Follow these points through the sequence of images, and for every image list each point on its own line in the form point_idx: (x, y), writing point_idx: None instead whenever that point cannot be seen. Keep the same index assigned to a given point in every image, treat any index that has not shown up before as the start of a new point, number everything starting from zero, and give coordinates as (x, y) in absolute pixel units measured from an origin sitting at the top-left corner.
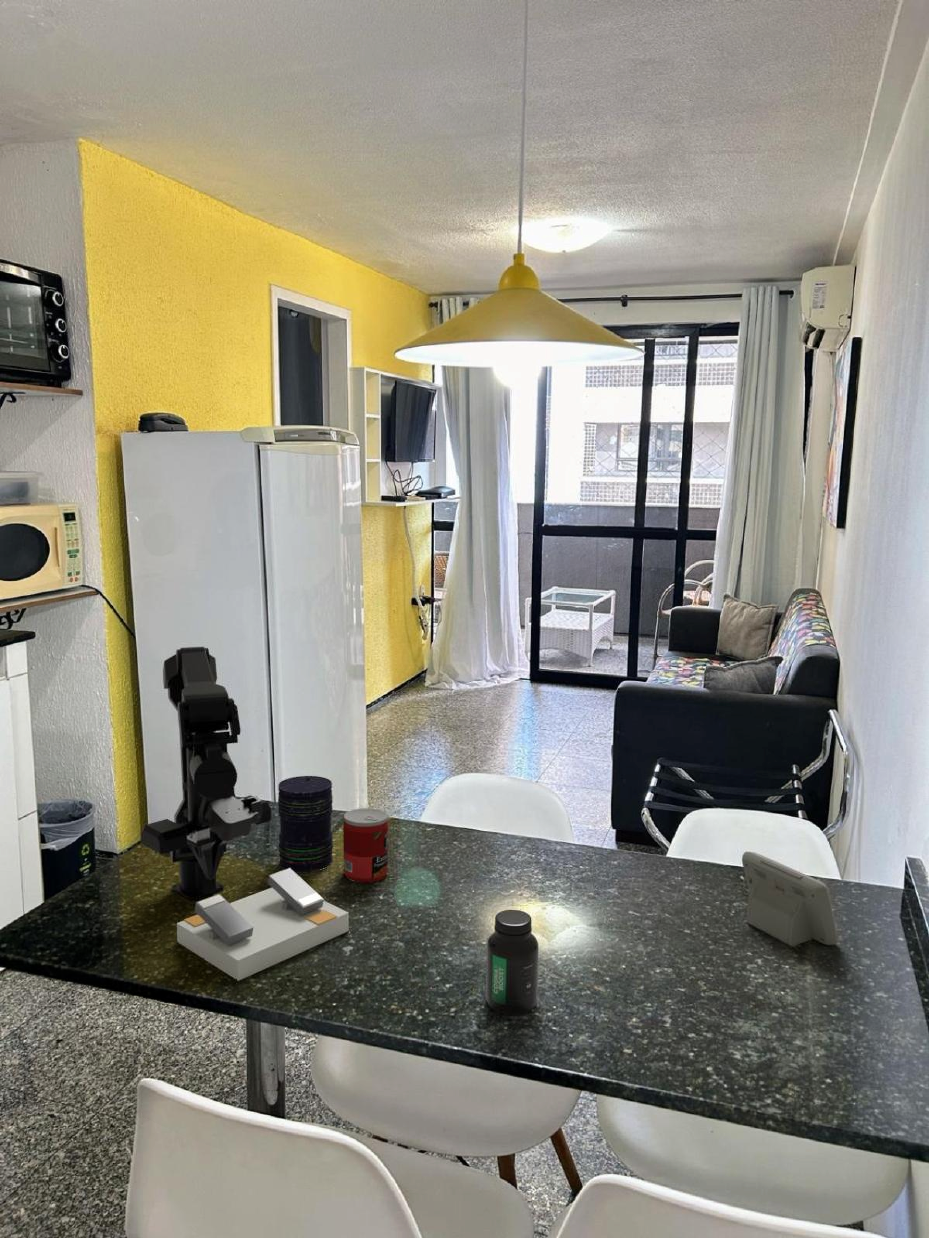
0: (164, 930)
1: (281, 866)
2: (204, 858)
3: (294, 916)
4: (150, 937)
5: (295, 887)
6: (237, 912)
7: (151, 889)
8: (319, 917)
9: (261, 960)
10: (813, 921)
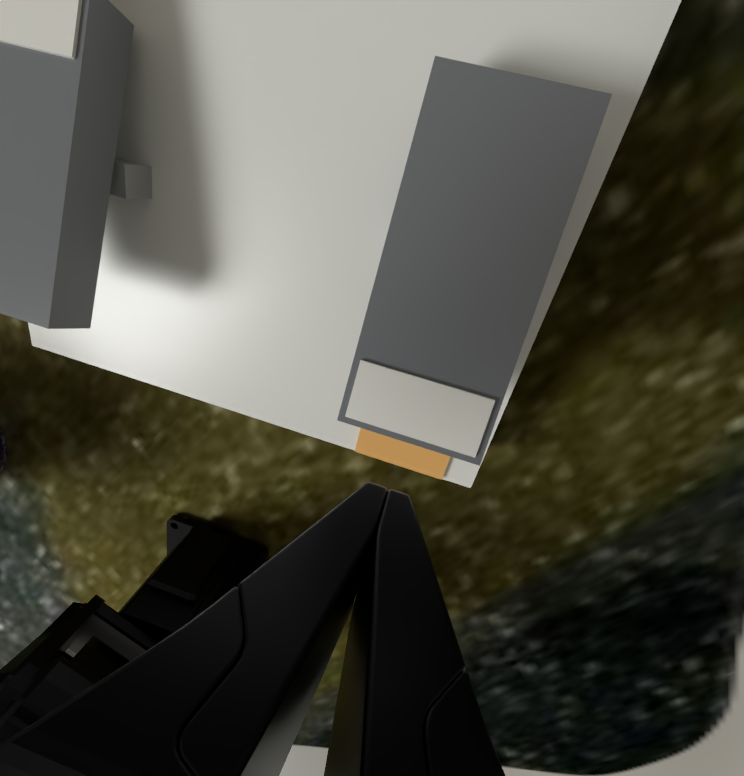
0: (430, 517)
1: (3, 457)
2: (483, 740)
3: (159, 79)
4: (483, 526)
5: (11, 154)
6: (391, 234)
7: None
8: None
9: None
10: None
